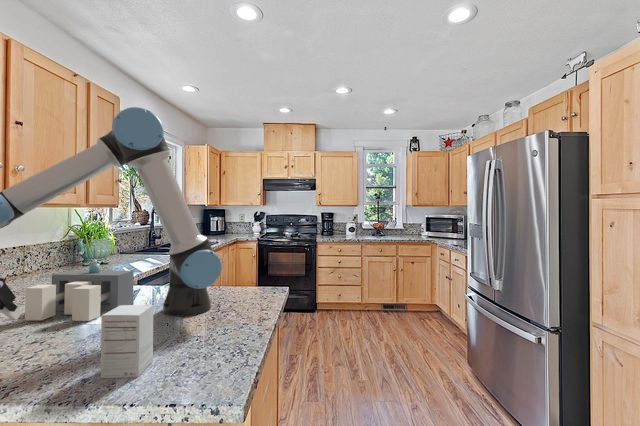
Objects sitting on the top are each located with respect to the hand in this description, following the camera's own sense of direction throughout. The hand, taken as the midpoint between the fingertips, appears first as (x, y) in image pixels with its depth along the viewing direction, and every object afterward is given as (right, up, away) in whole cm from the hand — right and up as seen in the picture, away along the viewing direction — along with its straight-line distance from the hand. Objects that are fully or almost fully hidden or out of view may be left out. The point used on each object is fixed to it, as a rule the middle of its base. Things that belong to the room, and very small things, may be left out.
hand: (17, 315), depth 91 cm
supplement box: (+45, -4, -24) cm, 51 cm away
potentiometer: (+7, +8, +21) cm, 24 cm away
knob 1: (0, -3, +12) cm, 12 cm away
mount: (+7, -4, +18) cm, 20 cm away
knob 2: (+14, -3, +12) cm, 18 cm away
